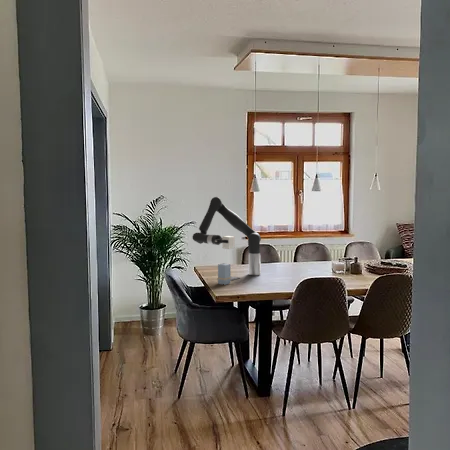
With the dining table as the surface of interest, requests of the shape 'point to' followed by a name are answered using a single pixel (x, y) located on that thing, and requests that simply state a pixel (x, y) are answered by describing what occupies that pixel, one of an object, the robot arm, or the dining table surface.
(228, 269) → the grey piece
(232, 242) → the lid
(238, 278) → the mat
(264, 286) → the dining table surface
